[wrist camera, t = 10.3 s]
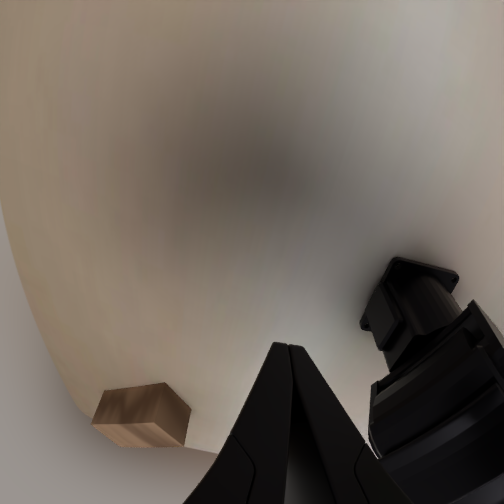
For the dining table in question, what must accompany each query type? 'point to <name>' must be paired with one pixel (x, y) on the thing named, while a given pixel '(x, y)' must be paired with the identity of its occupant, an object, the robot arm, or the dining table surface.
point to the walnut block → (143, 416)
